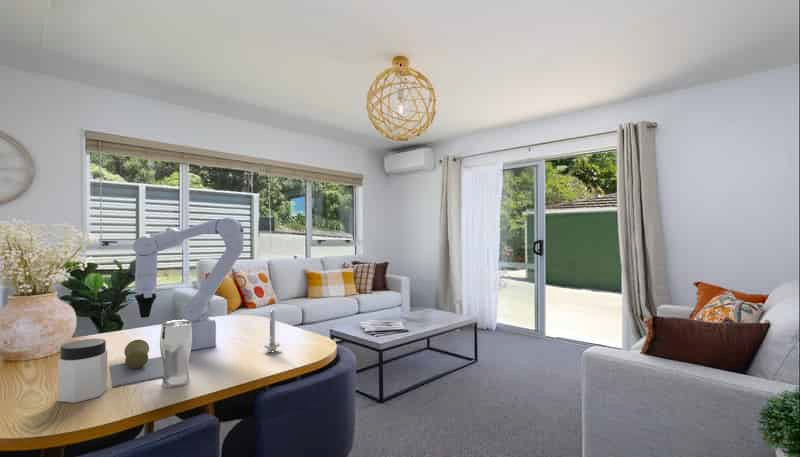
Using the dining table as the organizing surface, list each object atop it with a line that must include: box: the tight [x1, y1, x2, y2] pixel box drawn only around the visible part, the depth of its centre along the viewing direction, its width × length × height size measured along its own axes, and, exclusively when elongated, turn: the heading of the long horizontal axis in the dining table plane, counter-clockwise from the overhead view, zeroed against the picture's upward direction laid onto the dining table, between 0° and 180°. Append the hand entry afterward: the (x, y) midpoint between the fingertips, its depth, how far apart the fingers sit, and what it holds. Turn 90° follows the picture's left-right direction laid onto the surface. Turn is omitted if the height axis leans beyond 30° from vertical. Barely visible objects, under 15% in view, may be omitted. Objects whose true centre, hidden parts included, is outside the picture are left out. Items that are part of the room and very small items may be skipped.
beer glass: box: [159, 319, 192, 389], centre depth 96 cm, size 7×7×15 cm
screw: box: [263, 310, 281, 353], centre depth 122 cm, size 13×5×5 cm
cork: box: [124, 339, 150, 369], centre depth 108 cm, size 6×6×11 cm
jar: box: [57, 338, 108, 404], centre depth 89 cm, size 9×8×12 cm
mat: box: [109, 356, 164, 388], centre depth 105 cm, size 15×18×1 cm
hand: (144, 317), depth 122 cm, fingers closed
